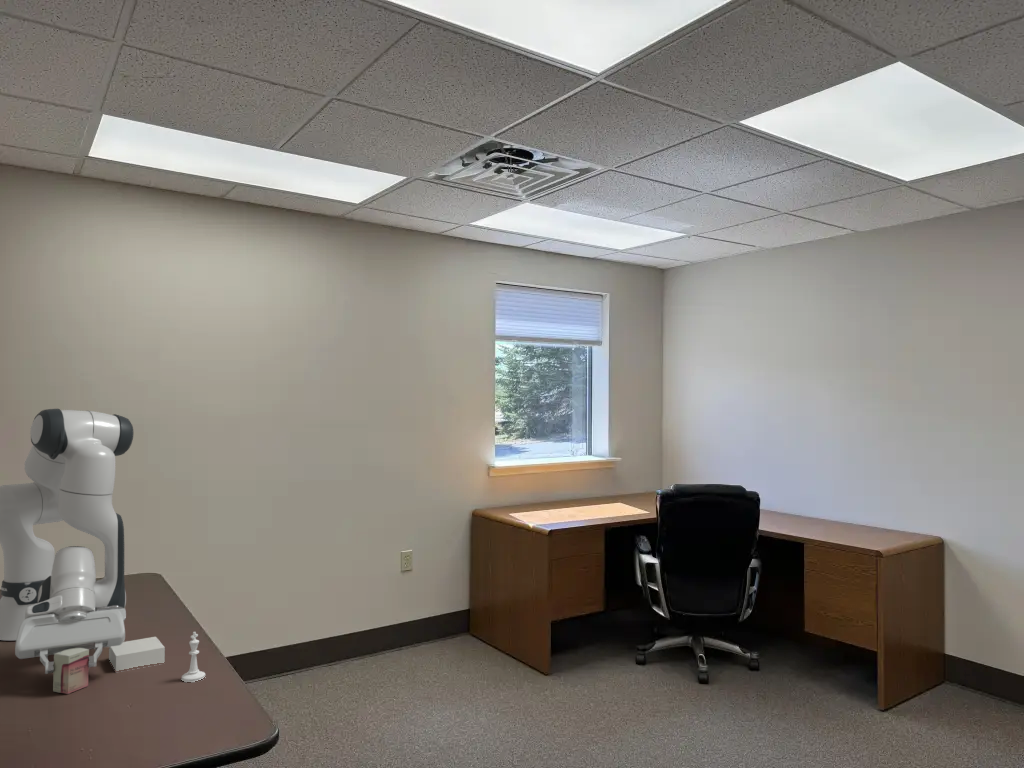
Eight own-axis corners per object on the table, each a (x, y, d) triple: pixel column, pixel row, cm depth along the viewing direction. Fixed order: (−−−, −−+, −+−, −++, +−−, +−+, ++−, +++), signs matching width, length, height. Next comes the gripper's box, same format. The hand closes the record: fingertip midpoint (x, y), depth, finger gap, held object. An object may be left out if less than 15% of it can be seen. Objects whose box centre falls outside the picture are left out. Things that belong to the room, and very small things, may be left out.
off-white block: (108, 661, 172) (109, 644, 172) (155, 653, 178) (155, 636, 178) (115, 674, 164) (116, 655, 164) (164, 664, 170) (164, 647, 170)
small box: (67, 695, 151) (68, 656, 151) (52, 692, 153) (53, 653, 153) (89, 686, 156) (90, 648, 156) (74, 683, 157) (75, 646, 158)
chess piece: (210, 676, 162) (211, 630, 162) (194, 683, 158) (195, 636, 158) (192, 673, 164) (193, 627, 164) (175, 681, 159) (176, 634, 159)
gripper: (125, 611, 170) (126, 667, 161) (18, 624, 159) (13, 685, 150) (126, 596, 166) (128, 653, 157) (17, 608, 156) (12, 669, 147)
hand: (71, 668), depth 154 cm, fingers closed on small box, 6 cm apart
